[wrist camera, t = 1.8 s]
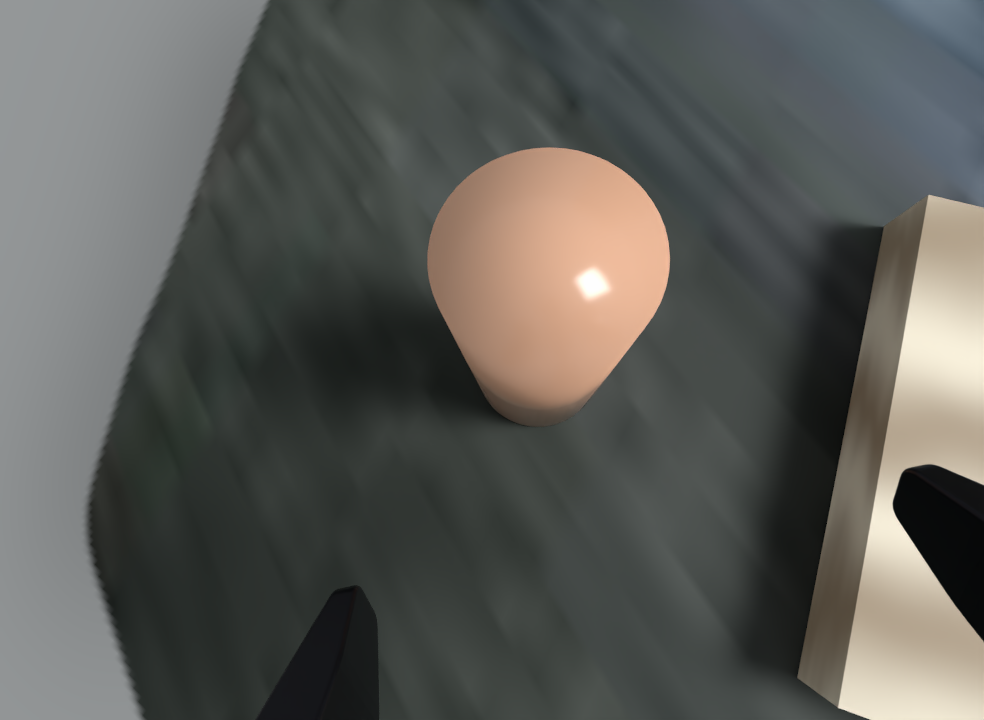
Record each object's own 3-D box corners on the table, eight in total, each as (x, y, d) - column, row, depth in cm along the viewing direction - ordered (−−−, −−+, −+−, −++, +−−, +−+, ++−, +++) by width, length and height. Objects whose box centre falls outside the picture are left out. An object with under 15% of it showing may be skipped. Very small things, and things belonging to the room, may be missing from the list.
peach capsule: (579, 443, 21) (633, 404, 10) (460, 405, 21) (393, 330, 11) (612, 327, 22) (695, 179, 11) (498, 293, 22) (471, 124, 12)
